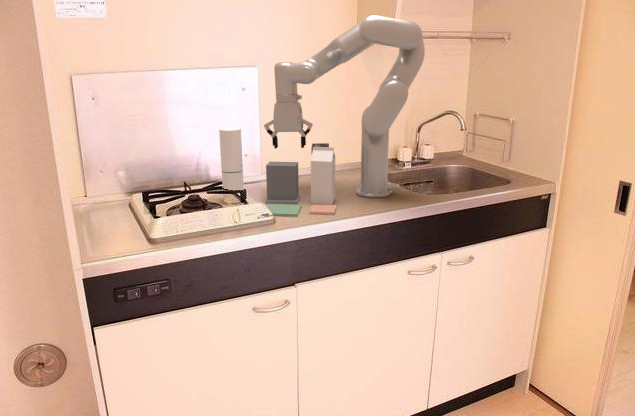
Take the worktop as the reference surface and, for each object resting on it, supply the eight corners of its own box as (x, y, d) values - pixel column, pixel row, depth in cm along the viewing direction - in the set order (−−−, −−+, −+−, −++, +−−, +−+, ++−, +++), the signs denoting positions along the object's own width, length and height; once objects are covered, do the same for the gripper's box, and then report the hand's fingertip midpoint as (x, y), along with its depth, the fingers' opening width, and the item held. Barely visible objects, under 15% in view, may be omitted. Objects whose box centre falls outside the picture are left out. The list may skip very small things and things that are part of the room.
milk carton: (331, 205, 180) (331, 149, 174) (311, 204, 181) (310, 148, 175) (335, 199, 187) (335, 145, 181) (315, 198, 188) (314, 144, 182)
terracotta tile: (336, 207, 178) (336, 204, 177) (334, 214, 170) (334, 212, 170) (312, 206, 179) (312, 204, 178) (309, 214, 171) (309, 211, 171)
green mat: (301, 207, 178) (301, 204, 178) (297, 216, 169) (297, 214, 168) (269, 206, 179) (269, 203, 179) (262, 215, 170) (262, 213, 169)
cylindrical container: (246, 197, 188) (243, 127, 181) (241, 204, 182) (237, 130, 174) (226, 197, 189) (222, 127, 182) (221, 203, 182) (216, 130, 175)
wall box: (300, 197, 189) (300, 161, 185) (297, 204, 181) (296, 166, 177) (269, 196, 190) (268, 160, 186) (265, 203, 182) (263, 166, 178)
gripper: (312, 97, 188) (314, 145, 193) (264, 98, 190) (267, 146, 195) (310, 99, 181) (312, 149, 186) (260, 100, 183) (263, 150, 188)
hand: (289, 147), depth 191 cm, fingers open, 9 cm apart
